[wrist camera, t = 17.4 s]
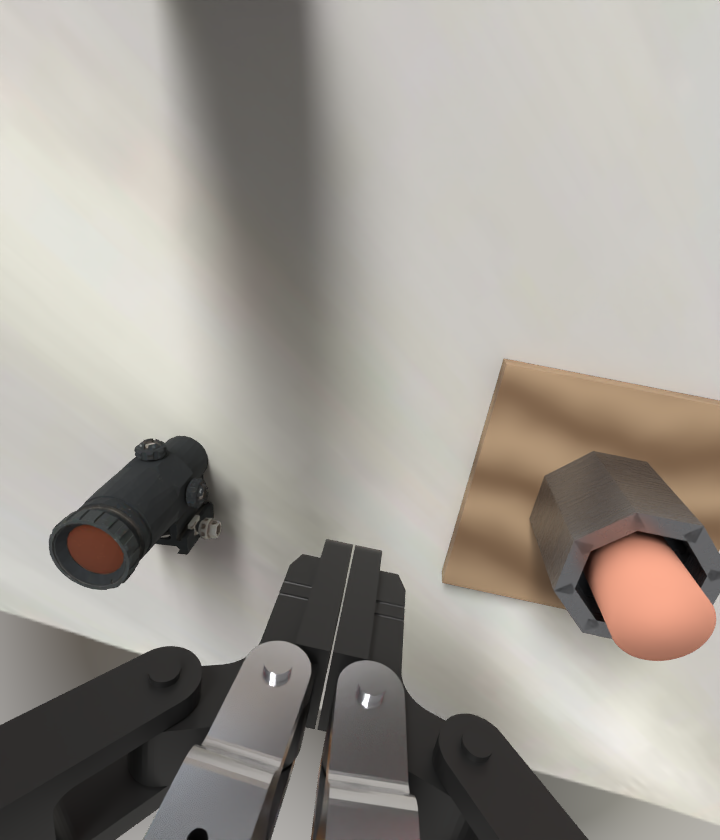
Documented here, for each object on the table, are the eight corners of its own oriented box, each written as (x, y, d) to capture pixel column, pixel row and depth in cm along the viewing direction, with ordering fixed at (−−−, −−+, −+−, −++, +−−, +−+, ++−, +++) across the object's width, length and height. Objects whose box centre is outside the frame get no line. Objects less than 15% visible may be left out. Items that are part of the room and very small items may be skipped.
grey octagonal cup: (556, 443, 38) (589, 502, 31) (684, 469, 38) (752, 536, 30) (519, 546, 42) (540, 623, 34) (636, 571, 42) (684, 654, 34)
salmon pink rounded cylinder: (596, 514, 34) (630, 574, 28) (682, 532, 33) (733, 596, 28) (569, 581, 36) (595, 649, 30) (649, 598, 36) (691, 669, 30)
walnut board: (503, 358, 38) (506, 364, 37) (777, 412, 37) (790, 419, 36) (441, 571, 46) (442, 582, 44) (666, 619, 45) (674, 632, 44)
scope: (43, 623, 34) (12, 494, 31) (146, 512, 47) (133, 411, 43) (160, 639, 34) (143, 508, 30) (232, 521, 46) (227, 419, 43)
